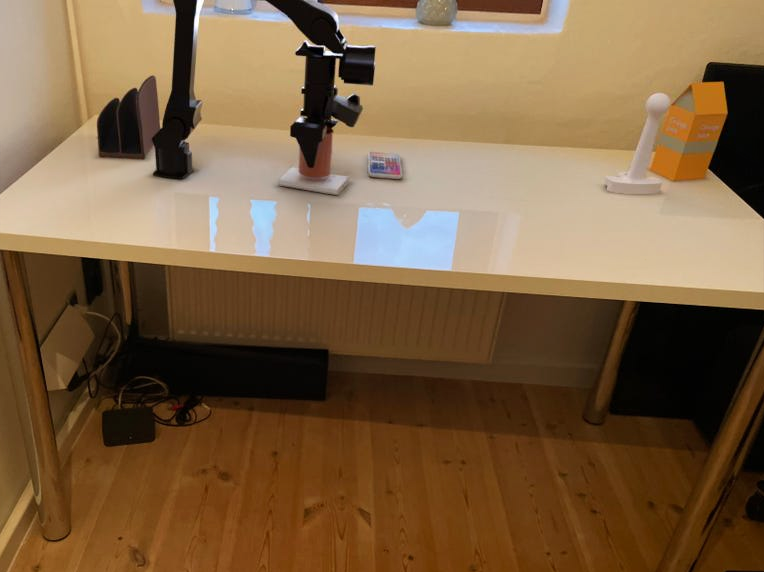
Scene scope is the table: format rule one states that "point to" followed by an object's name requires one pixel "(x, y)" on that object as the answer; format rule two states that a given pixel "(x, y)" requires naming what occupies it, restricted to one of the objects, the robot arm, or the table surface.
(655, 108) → the joystick
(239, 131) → the table surface
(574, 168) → the table surface
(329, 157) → the cup
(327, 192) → the hard drive
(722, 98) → the orange juice
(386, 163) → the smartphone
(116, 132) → the letter holder
